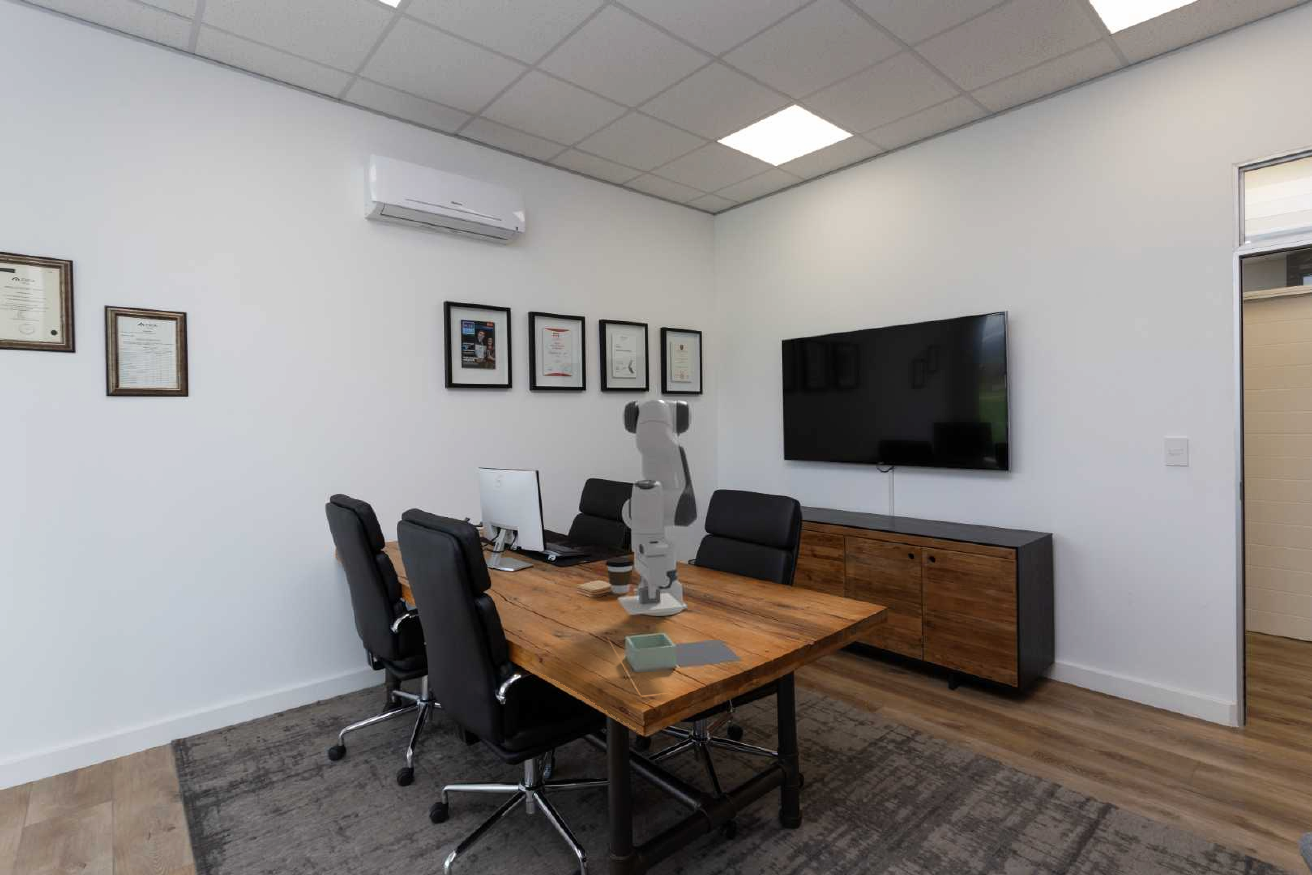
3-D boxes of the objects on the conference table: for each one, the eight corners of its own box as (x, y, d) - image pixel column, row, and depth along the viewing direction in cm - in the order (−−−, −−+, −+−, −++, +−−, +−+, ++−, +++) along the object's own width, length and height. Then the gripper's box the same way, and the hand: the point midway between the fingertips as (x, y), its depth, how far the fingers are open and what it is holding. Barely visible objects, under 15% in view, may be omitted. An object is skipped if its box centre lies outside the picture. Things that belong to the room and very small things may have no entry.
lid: (618, 600, 175) (617, 584, 175) (668, 595, 178) (667, 580, 178) (629, 614, 161) (628, 597, 161) (683, 609, 165) (682, 592, 165)
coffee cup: (604, 588, 248) (603, 557, 248) (632, 587, 250) (632, 556, 250) (607, 596, 237) (606, 563, 237) (637, 594, 239) (636, 562, 239)
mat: (662, 646, 183) (662, 645, 183) (719, 640, 187) (719, 639, 187) (680, 668, 167) (680, 667, 167) (742, 661, 171) (742, 660, 171)
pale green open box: (625, 658, 174) (625, 636, 174) (665, 654, 177) (664, 632, 177) (634, 674, 164) (634, 650, 163) (676, 669, 166) (676, 646, 166)
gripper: (628, 537, 179) (629, 586, 179) (645, 550, 159) (647, 606, 159) (650, 535, 180) (651, 585, 181) (670, 549, 161) (671, 604, 161)
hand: (649, 595), depth 170 cm, fingers closed on lid, 3 cm apart
